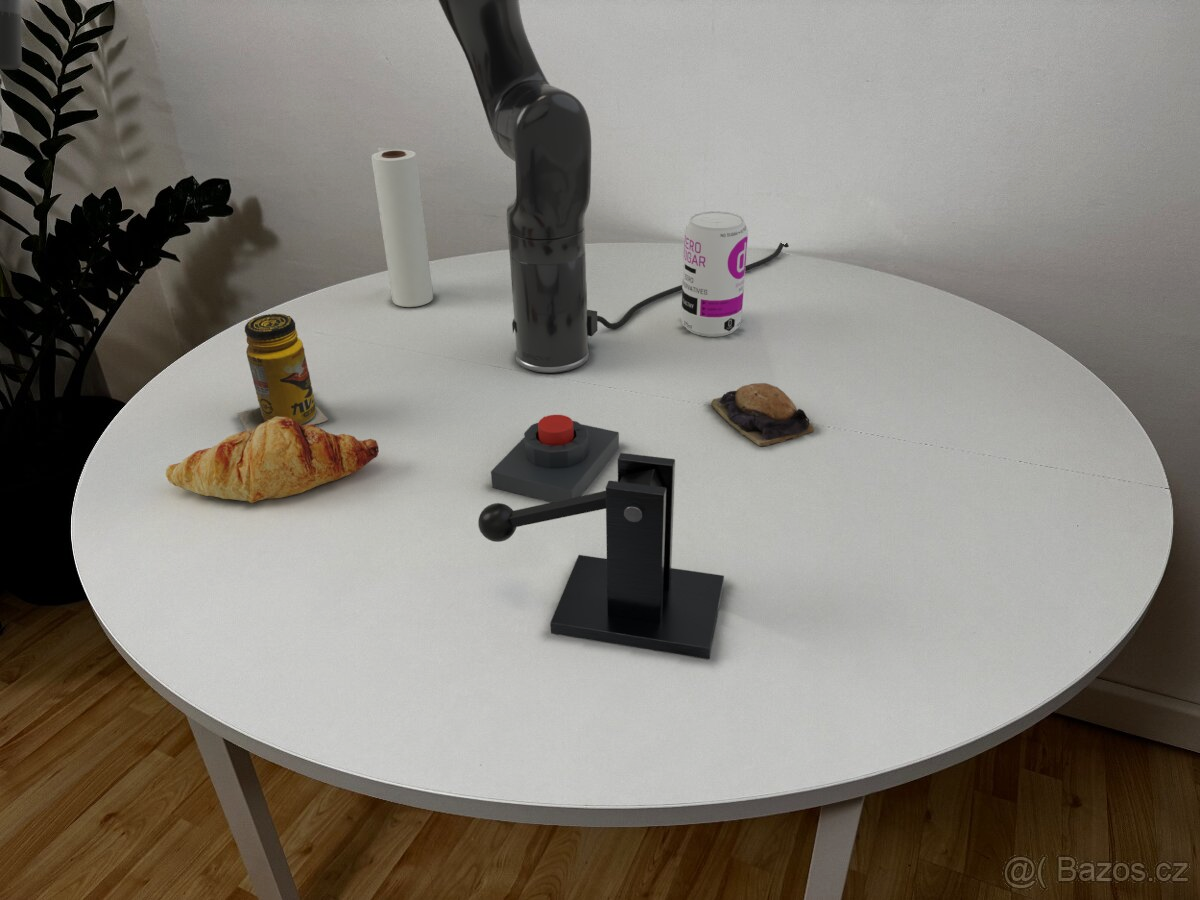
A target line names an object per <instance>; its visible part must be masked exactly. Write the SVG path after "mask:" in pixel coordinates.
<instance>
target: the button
mask: <svg viewBox="0 0 1200 900" xmlns="http://www.w3.org/2000/svg"><path fill="white" fill-rule="evenodd" d="M543 417H544V418H543ZM543 417H542V418H540V419H539V420H538V422H537V423H538V433H539V440H540V442H541V443H543V444H547V445H552V446H556V445H564V444H567V443H569V442H571V441H572V440H573V438H574V431H573V421H574V420H573V419H572V418H571V417H569V416H567V415H563V414H550V415H546V416H543Z"/></svg>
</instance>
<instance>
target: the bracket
mask: <svg viewBox="0 0 1200 900" xmlns="http://www.w3.org/2000/svg"><path fill="white" fill-rule="evenodd" d="M651 469H655V471H656V473H657V475H658V478H659V480H660V482H661V484H662V487H657V486H649V485H641V484H633V483H625V482H620V481H621V478H622V476H624V475H628V474H633V473H637V472H642V471H646V470H651ZM675 478H676V459H675V458H669V457H659V456H651V455H643V454H642V455H641V454H635V453H626V452H620V453H619V455H618V458H617V480H608V481H607V483H606V486H605V491H606V509H605V529H606V530H605V534H606V536H605V537H606V541H605V543H606V558H603V557H598V556H592V555H591V556H589V555H583V554H578V555H577V558H576V560H575V562H574V565H573V567H572V570H571V572H570V574H569V577H568V580H567V582H566V584H565V586H564V589H563V591H562V593H561V596H560V599H559V600H558V603H557V606H556V607H555V610H554V612H553V614H552V618H551V620H550V622H549V624H550V625H549V626H550V634H551V635H559V636H564V637H570V638H576V639H583V640H589V641H596V642H601V643H606V644H607V643H608V644H612V645H618V646H619V645H620V646H626V647H633V648H637V649H644V650H649V651H656V652H662V653H668V654H673V655H680V656H686V657H691V658H698V659H704V660H710V658H711V653H712V648H713V641H714V637H715V633H716V626H717V621H718V617H719V611H720V605H721V600H722V595H723V591H724V583H725V575H721V574H715V573H710V572H703V571H702V572H701V571H695V570H687V569H681V568H674V567H672V565H673V564H672V560H673V558H672V557H673V537H674V536H673V534H674V533H673V532H674V530H673V529H674V508H675V507H674V506H675V502H674V501H675Z"/></svg>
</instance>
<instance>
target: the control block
mask: <svg viewBox="0 0 1200 900" xmlns="http://www.w3.org/2000/svg"><path fill="white" fill-rule="evenodd" d="M544 417H545V416H543V417H542V418H544ZM572 421H573V431H574V438H573V440H572V441H571V442H569V443H567V444H564V445H556V446H552V445H547V444H543V443H541V442H540V440H539V433H538V422H536V423H533V424H531V425H530V426H529V427H528V428H527V429H526V431H524V433H523V434H524V435H523V436H524V437H523V438H522V439H521V440H520V441H519V442H518V443H517V444H516V445H515V446H513V448H512V449H510V451H509V452H508V453H507V454H506V455H505V456H504V457H503V458H502V459H501V460H500V461H499V462H498V464H496V465H495V466H494V468H492V470H491V471H490V476H491V487H492V488H493V489H498V490H500V491H505V492H508V493H513V494H518V495H521V496H524V497H529V498H533V499H538V500H540V501H546V502H548V503H551V502H556V501H561V500H565V499H570V498H575V497H579V496H583V494H584V493H585V492H586V490H587V489H588V488H589V486H590V485H591V484H592V483H593V481H594V480H595V479H596V477H597V476H598V475H599V474H600V472H601V471H602V470H603V469H604V467H605V466H606V465H607V464H608V462H609V461H610V460H611V458H612V457H613V456H614V455H615V453H616V452H617V451H618V450H619V448H620V433H619V431H615V430H611V429H606V428H601V427H596V426H591V425H587V424H582V423H580V422H578V421H577V420H572Z"/></svg>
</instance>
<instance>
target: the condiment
mask: <svg viewBox="0 0 1200 900" xmlns="http://www.w3.org/2000/svg"><path fill="white" fill-rule="evenodd" d="M244 333H245V336H246V343H247V344H248V345H247V347H246V351H245V352H246V357H247V361H248V365H249V369H250V373H251V377H252V382H253V385H254V389H255V393H256V398H257V402H258V406H259V407H257V408H254V409H251V410H244V411H242V412H238V413H236V416H237V417H238V420H239V421H240V422H241V424H242V427H244V430H245V431H250V430H254V429H256V428H257V427H258V426H259V425H260V424H261V423H264V422H266V421H268V420H270V419H272V418H274V417H277V416H278V417H289V418H291V419H292V420H294V421H296V422H298V423H299V425H311V424H314V425H315V426H316V425H317V424H322V423H325V422H327V421H328V420H329V418H328V417H327V416H326V415H325V413H324V412H322V410H321V409H320V408H319V406H318V405H317V404H316V400H315V395H314V390H313V386H312V382H311V381H312V380H311V375H310V371H309V368H308V363H307V358H306V353H305V348H304V344H303V341H302V340H301V338H300V337H298V331H297V328H296V321H295V320H294V319H293V318H292V316H291V315H287V314H284V313H268V314H262V315H259V316H256V317H253V318H251V319H250V320H248V321H247V322H246V324H245V326H244Z"/></svg>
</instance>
